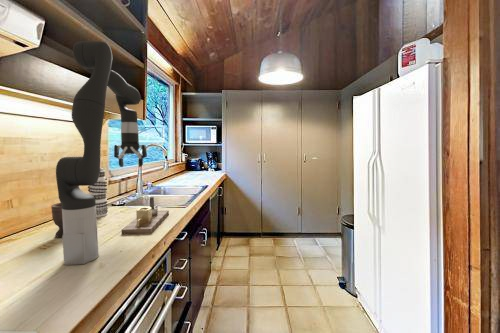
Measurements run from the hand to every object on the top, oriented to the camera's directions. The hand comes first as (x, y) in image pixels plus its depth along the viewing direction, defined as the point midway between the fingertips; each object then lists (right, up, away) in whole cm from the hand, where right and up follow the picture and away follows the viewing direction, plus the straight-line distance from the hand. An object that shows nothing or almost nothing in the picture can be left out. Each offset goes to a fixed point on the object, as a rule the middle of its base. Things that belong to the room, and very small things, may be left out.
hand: (131, 166), depth 129 cm
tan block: (+9, -25, -8) cm, 28 cm away
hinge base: (+8, -27, 0) cm, 28 cm away
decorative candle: (-24, -26, +16) cm, 39 cm away
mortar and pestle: (-18, -29, -17) cm, 38 cm away
